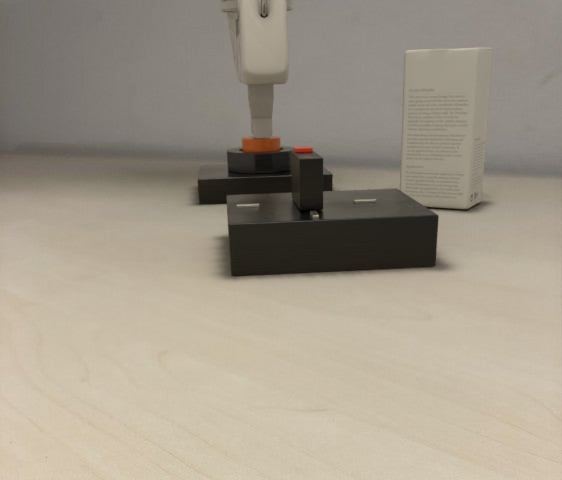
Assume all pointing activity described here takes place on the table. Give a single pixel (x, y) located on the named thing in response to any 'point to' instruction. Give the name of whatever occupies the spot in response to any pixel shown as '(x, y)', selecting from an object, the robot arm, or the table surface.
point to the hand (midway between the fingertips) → (261, 137)
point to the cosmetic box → (445, 125)
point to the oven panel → (330, 232)
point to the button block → (250, 175)
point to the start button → (261, 144)
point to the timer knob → (307, 178)
